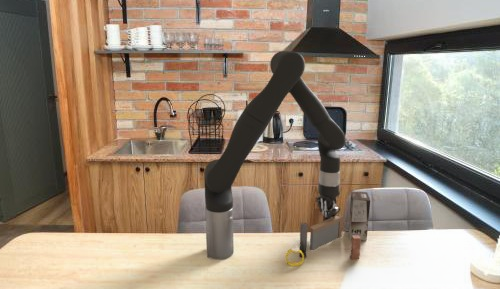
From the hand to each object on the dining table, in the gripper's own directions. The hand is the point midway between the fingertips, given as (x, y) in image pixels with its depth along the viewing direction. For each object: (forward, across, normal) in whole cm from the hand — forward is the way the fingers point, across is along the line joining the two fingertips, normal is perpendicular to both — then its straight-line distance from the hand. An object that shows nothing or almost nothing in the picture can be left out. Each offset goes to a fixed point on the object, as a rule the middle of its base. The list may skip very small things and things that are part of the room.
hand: (326, 224), depth 131 cm
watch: (+5, +12, -20) cm, 24 cm away
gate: (+4, +6, -4) cm, 8 cm away
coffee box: (+5, +2, +13) cm, 14 cm away
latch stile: (+5, +16, +1) cm, 17 cm away
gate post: (+5, +9, -15) cm, 18 cm away
